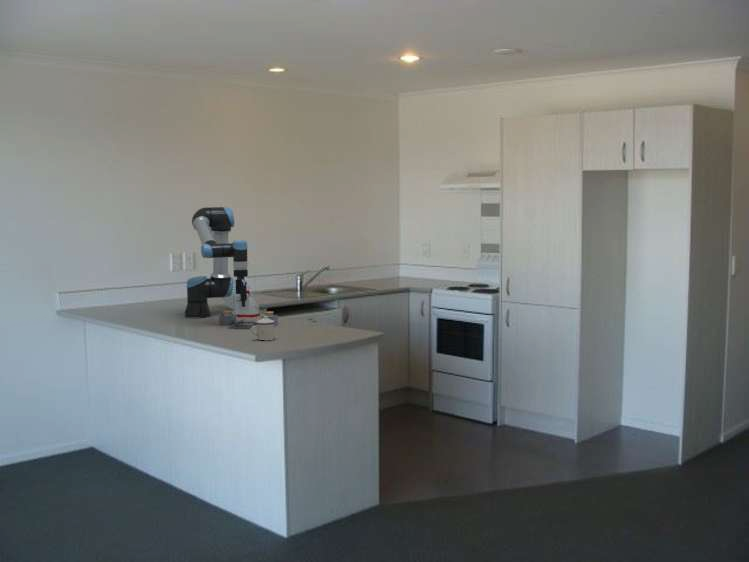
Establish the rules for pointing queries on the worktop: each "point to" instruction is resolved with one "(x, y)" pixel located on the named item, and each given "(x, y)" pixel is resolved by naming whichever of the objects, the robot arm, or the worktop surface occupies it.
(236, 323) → the housing
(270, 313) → the plunger
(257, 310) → the white red kettle
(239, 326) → the mat
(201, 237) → the robot arm
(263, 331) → the teacup with lid
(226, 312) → the plunger
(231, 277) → the heart
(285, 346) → the worktop surface
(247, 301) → the small box
